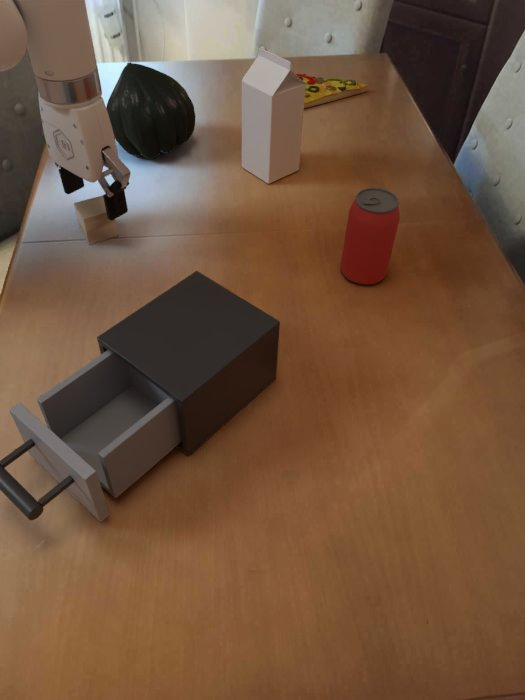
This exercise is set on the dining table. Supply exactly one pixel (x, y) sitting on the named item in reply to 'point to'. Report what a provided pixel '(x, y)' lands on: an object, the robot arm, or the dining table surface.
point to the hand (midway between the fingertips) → (96, 202)
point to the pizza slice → (328, 89)
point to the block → (95, 220)
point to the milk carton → (271, 118)
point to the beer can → (370, 235)
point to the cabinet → (199, 352)
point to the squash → (149, 112)
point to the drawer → (93, 435)
